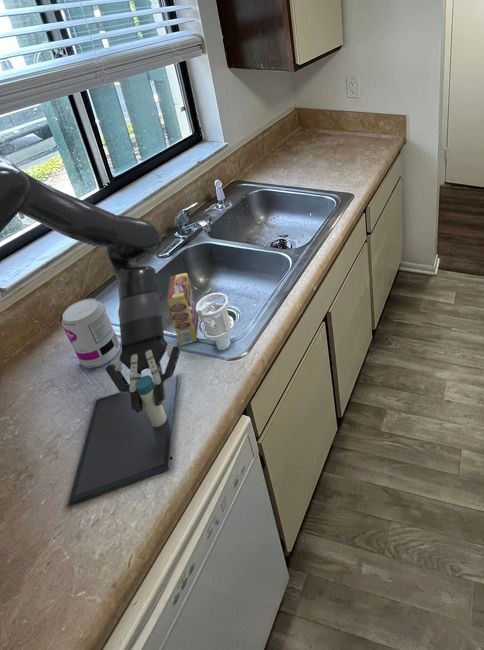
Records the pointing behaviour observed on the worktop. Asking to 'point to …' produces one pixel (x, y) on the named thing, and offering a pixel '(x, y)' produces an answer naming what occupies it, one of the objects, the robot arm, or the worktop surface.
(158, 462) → the tablet
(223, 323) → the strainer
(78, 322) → the supplement can
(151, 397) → the teal capped white tube
